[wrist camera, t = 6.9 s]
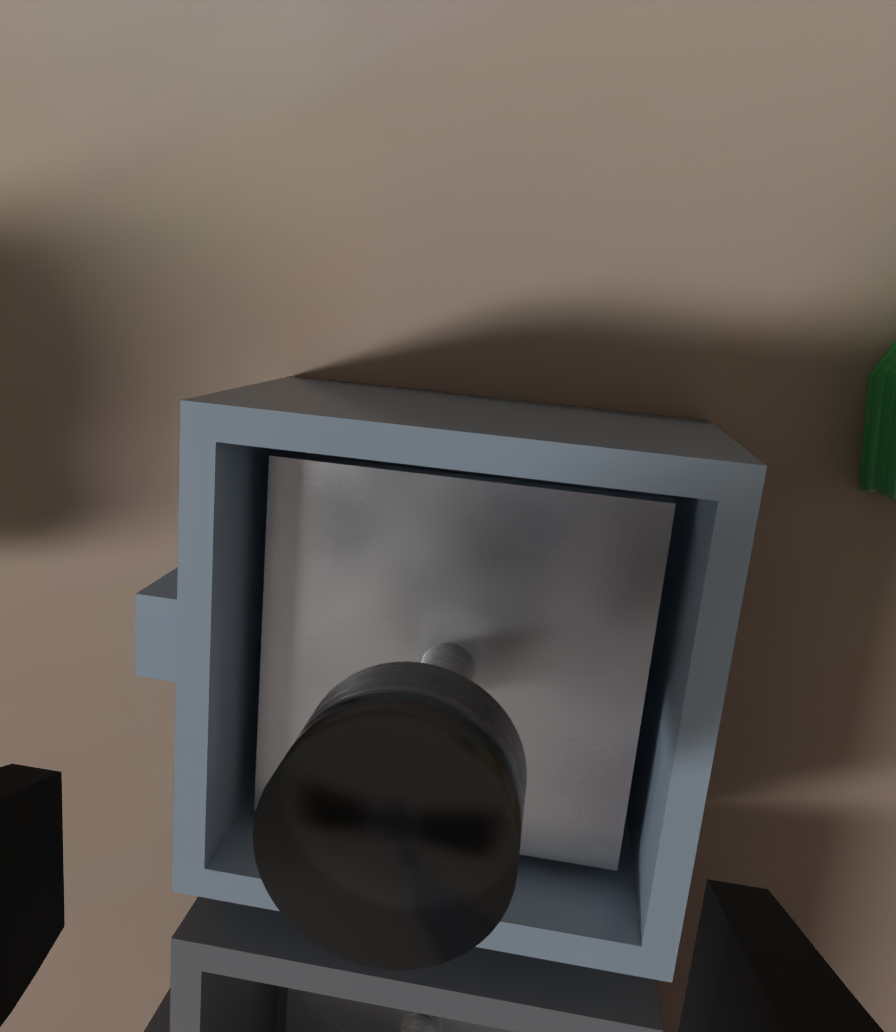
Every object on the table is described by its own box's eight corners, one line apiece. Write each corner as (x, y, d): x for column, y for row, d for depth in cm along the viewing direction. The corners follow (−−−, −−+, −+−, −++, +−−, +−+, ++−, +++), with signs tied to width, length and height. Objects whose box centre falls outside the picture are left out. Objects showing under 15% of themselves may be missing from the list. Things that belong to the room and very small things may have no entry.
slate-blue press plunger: (673, 498, 15) (735, 616, 9) (616, 858, 16) (638, 1149, 11) (276, 451, 15) (103, 531, 10) (261, 798, 17) (105, 1039, 11)
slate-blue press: (709, 421, 18) (767, 465, 13) (645, 805, 20) (672, 982, 15) (238, 370, 19) (109, 391, 14) (226, 738, 21) (110, 880, 16)
